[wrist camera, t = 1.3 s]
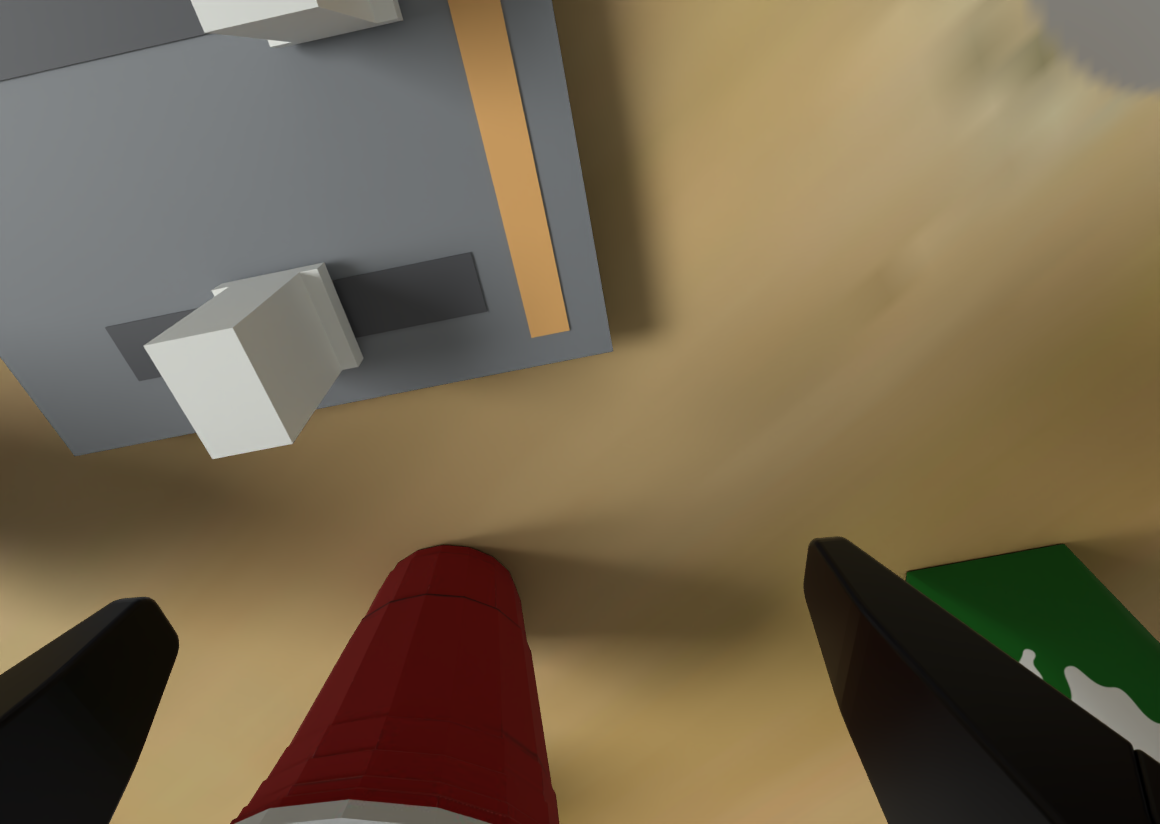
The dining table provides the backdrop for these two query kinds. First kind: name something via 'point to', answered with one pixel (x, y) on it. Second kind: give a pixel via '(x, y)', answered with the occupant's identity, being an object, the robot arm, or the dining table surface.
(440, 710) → the plastic cup
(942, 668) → the robot arm
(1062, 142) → the dining table surface
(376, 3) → the block
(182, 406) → the block
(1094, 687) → the milk carton
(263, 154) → the breaker panel
